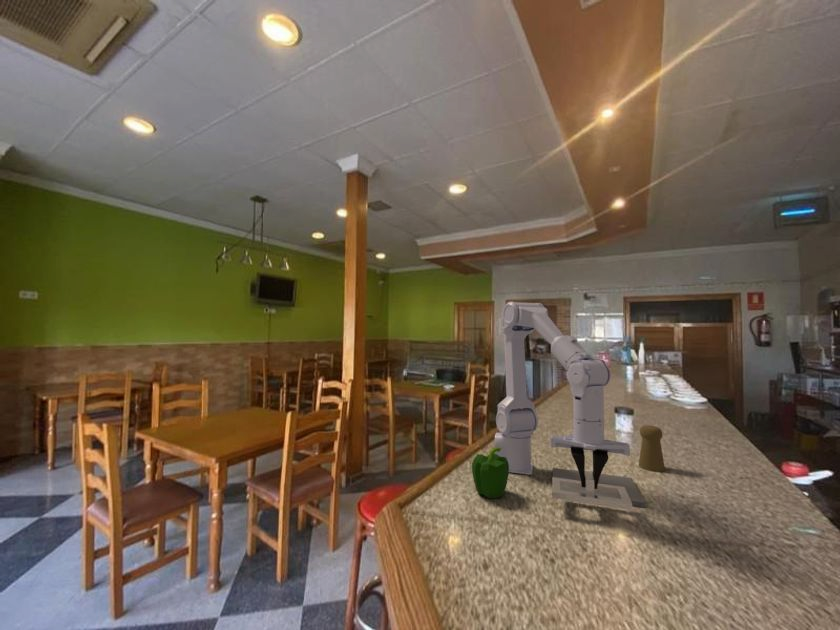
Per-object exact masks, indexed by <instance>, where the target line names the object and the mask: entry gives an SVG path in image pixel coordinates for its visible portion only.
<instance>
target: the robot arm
mask: <svg viewBox="0 0 840 630" xmlns="http://www.w3.org/2000/svg"><path fill="white" fill-rule="evenodd" d="M534 331H536V332H537V333H538V334H539V335H540V336H541V337H542V338H544V339H545V340H546V342H548V343H549V344H550V352H551V354H552V355H553V356H554V358H555V359H556V360H557V361H558V362H559V364H560V365H561V366H562V367H563V368H564V369H565V371H566V373H565V374H566V379H567V382H568V383H569V386H570V393H571V395H572V396H573V397H572V399H573V404H572V405H573V408H572V409H573V410H572V411H573V412H572V413H573V415H572V416H573V419H572V420H573V422H572V423H573V424H572V425H573V429H572V430H573V431H572V434H573V435H550V447H551V448H565V449H570V454H571V456H572V458H573V461H574V464H575V465H576V467H577V471H579V474H580V478H581V486H582V487H585V471H586V469H585V465H586V464H585V463H586V460H585V459H586V455H585V451H592V472H593V478H594V489H597V486H598V481H599V478H600V475H601V474H602V472H603V470H604V467H605V466H606V464H607V463H608V461H609V454H610V453H611V454H612V453H613V454H620V455H623V456H631V446H630V444H629V443H628V442H623V441H622V442H621V441H616V440H610V439H605V397H604V396H605V387H606V386H607V385H608V384H609V382H610V380H611V370H610V368H609V365H608V364H607V363H606V361H605V360H604V359H601V358H596V357H594V356H592V355H591V353H589V352H588V351H587V350H586V349H584V347H582V346H581V344H580V343H579V342H578V339H577V338H576V337H575V336H572V335H564V334H563V333H562V331H561V330H560V329H559V328H558V327H557V325H556V324H555V323H554V322H553V320H552V319H551V318H550V317H549V315H548V308H546V307H545V306H544V305H543V303H540V302H514V301H508V302H507V303H506V304H505V305H504V307H503V309H502V310H501V332H502V334H503V339H504V341H503V342H504V365H505V366H504V367H505V391H506V394H505V395H506V397H504V399H502V400H501V401H500V402H499V403H498V404H497V413H496V417H495V423H496V427H497V429H498V432H496V433H495V435H494V443H493V445H494V446H493V448H495V447H499V448H501V450H500V451H499V452H498V451H496V452H495V453H494V454H497V455H499V456H500V457H506V458H507V461H508V465H509V473H514V474H522V475H528V476H529V475H530V476H532V475H533V470H534V463H533V462H532V436H534V432H535V431H536V430H537V429H538V426H539V418H538V415H537V412H536V405H535V404H534V403H533V401H531V399H528V394H527V372H526V371H527V370H526V349H525V339H526V338H527V336H529V334H532V333H533V332H534Z"/></svg>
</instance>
